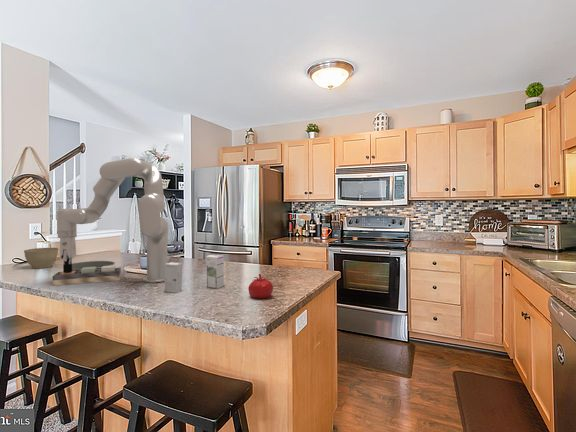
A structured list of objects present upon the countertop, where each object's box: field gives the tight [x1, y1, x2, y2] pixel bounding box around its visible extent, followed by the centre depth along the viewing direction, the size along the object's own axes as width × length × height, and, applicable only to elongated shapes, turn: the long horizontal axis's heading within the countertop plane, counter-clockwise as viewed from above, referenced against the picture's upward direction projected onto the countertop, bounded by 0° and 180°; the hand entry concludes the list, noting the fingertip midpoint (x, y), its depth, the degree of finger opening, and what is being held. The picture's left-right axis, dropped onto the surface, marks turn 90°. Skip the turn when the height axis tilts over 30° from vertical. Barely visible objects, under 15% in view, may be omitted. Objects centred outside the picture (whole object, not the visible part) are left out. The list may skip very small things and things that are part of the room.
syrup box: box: [206, 253, 225, 290], centre depth 142 cm, size 6×6×14 cm
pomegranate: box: [247, 273, 274, 299], centre depth 127 cm, size 10×10×9 cm
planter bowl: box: [23, 247, 59, 269], centre depth 187 cm, size 16×16×11 cm
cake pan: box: [72, 260, 116, 271], centre depth 175 cm, size 25×25×4 cm
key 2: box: [101, 264, 116, 272], centre depth 157 cm, size 6×6×2 cm
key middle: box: [81, 267, 96, 273], centre depth 154 cm, size 6×6×2 cm
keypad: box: [52, 267, 122, 287], centre depth 154 cm, size 27×10×4 cm, turn 114°
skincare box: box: [164, 261, 183, 294], centre depth 135 cm, size 6×4×12 cm
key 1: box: [60, 271, 76, 275], centre depth 150 cm, size 6×6×2 cm
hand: (67, 272), depth 150 cm, fingers closed
